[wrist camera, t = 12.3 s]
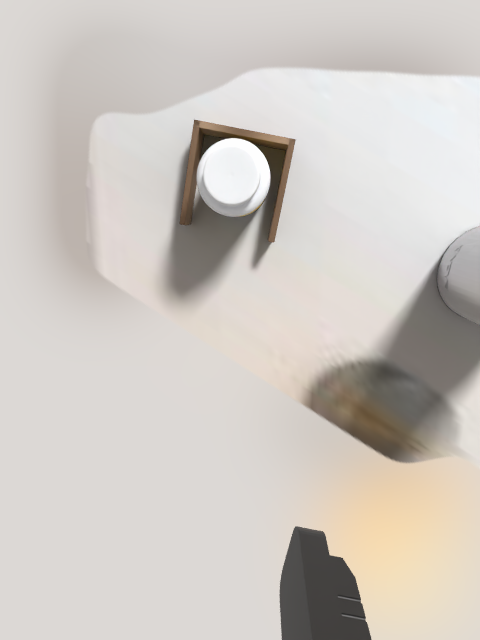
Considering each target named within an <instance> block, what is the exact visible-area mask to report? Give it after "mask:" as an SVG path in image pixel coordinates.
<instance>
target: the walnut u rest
mask: <svg viewBox="0 0 480 640" xmlns="http://www.w3.org/2000/svg"><path fill="white" fill-rule="evenodd" d="M204 134H205V135H210V136H215V137H220V138H225V139H229V138H237V139H242V140H246V141H248V142H250V143H252V144H256V145H261V146H266V147H272V148H277V149H282V150H286V153H285V157H284V162H283V167H282V172H281V177H280V182H279V187H278V192H277V197H276V202H275V207H274V212H273V217H272V222H271V226H270V231H269V236H268V241H269V242H274V241H275V236H276V231H277V226H278V222H279V217H280V212H281V207H282V202H283V197H284V193H285V188H286V183H287V178H288V173H289V169H290V164H291V159H292V154H293V149H294V144H295V139H290V138H285V137H280V136H275V135H270V134H265V133H260V132H255V131H249V130H244V129H239V128H234V127H229V126H224V125H219V124H214V123H209V122H203V121H198V120H194V125H193V132H192V139H191V146H190V153H189V160H188V167H187V174H186V181H185V189H184V196H183V203H182V210H181V217H180V224H181V225H189V224H191V219H192V212H193V205H194V198H195V192H196V185H197V169H198V165H199V162H200V158H201V151H202V145H203V138H204Z"/></svg>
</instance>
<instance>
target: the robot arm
mask: <svg viewBox="0 0 480 640" xmlns="http://www.w3.org/2000/svg"><path fill="white" fill-rule="evenodd" d="M438 288H439V292H440V295H441V297H442V299H443V301H444V302H445V303H446V305H447V306H448V307H449V308H450V309H451V310H452V311H454V312H455V313H457V314H458V315H460V316H462V317H464V318H466V319H468V320H470V321H472V322H474V323H476V324H478V325H480V226H479V227H476V228H474V229H471V230H469V231H467V232H466V233H464V234H463V235H461V236H460V237H458V238H457V239H456V240H455V241H454V242H453V243H452V244H451V245H450V246H449V248H448V249H447V251H446V252H445V254H444V256H443V258H442V260H441V262H440V265H439V270H438ZM280 612H281V629H282V640H371V636H370V633H369V628H368V625H367V622H366V621H365V618H366V617H365V613H364V609H363V606H362V604H361V598H360V594H359V590H358V587H357V583H356V579H355V577H354V575H353V574H352V572H351V571H350V569H349V567H348V566H347V564H346V563H345V561H344V560H343V558H340V557H335V556H330V555H329V551H328V546H327V541H326V536H325V534H324V532H323V531H317V530H312V529H307V528H302V527H295V528H294V531H293V534H292V537H291V541H290V544H289V548H288V552H287V555H286V559H285V563H284V566H283V570H282V575H281V582H280Z"/></svg>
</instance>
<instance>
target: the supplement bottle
mask: <svg viewBox="0 0 480 640" xmlns="http://www.w3.org/2000/svg"><path fill="white" fill-rule="evenodd" d="M197 186H198V189H199V192H200V195H201V197H202V198H203V200H204V201H205V203H206V204H207V205H208V206H209V207H210V208H211V209H213V210H214V211H216V212H217V213H219V214H222V215H225V216H231V217H239V216H246V215H249V214H251V213H253V212H254V211H256V210H257V209H258V208H259V207H260V206H261V205H262V203H263V202H264V200H265V198H266V196H267V193H268V190H269V186H270V169H269V165H268V162H267V160H266V158H265V156H264V155H263V153H262V152H261V151H260V150H259V149H258V148H257V147H256V146H255V145H253V144H252V143H250V142H248V141H246V140H242V139H237V138H229V139H224V140H221V141H219V142H217V143H215V144H214V145H212V146H211V147H210V148H209V149H208V150H207V151H206V152H205V153H204V155H203V156H202V158H201V160H200V162H199V165H198V169H197Z"/></svg>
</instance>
